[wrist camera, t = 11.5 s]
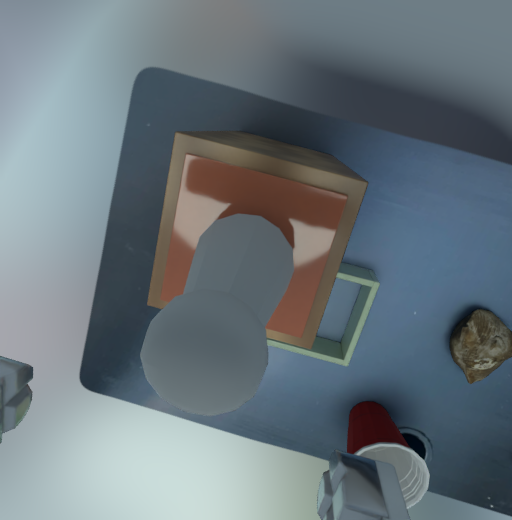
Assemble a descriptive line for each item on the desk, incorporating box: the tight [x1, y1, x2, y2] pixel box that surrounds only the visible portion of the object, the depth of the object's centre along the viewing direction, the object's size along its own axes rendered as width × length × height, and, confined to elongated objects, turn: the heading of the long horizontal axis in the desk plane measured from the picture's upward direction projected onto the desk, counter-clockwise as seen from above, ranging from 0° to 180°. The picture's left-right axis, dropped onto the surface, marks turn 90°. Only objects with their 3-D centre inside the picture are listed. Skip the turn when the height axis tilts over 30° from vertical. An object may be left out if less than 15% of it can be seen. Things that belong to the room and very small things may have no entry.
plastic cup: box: [347, 401, 430, 509], centre depth 53 cm, size 11×11×12 cm
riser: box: [147, 131, 368, 349], centre depth 37 cm, size 12×12×26 cm
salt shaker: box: [140, 213, 294, 416], centre depth 18 cm, size 6×6×13 cm
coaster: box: [160, 153, 348, 338], centre depth 25 cm, size 10×10×1 cm
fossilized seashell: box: [450, 309, 512, 384], centre depth 51 cm, size 8×7×10 cm
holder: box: [267, 262, 380, 366], centre depth 52 cm, size 13×13×4 cm
